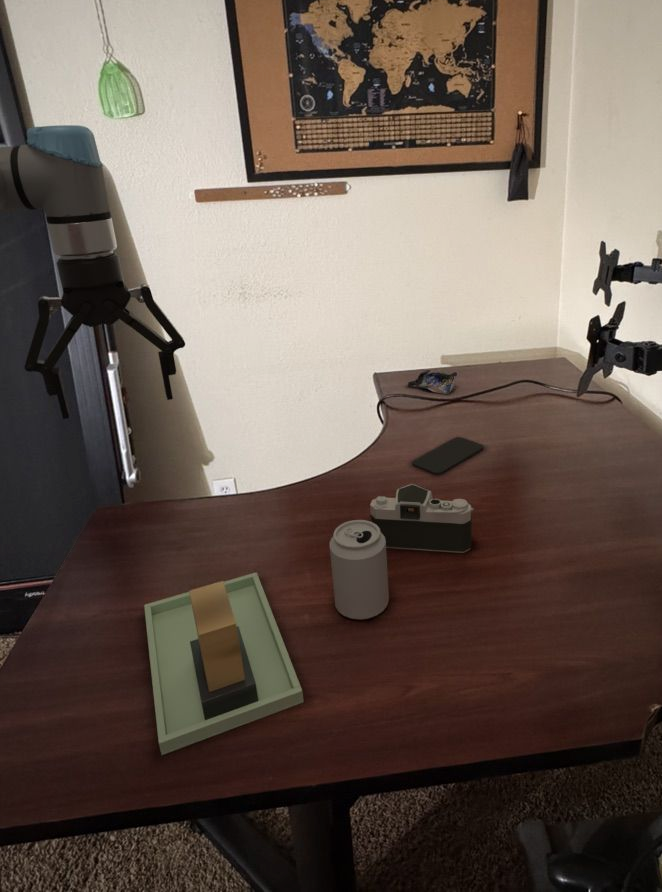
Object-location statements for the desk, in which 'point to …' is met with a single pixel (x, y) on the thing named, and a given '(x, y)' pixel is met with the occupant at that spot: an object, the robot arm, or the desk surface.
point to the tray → (176, 669)
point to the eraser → (220, 654)
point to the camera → (423, 521)
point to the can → (359, 569)
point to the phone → (447, 455)
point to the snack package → (434, 381)
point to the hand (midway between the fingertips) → (119, 405)
